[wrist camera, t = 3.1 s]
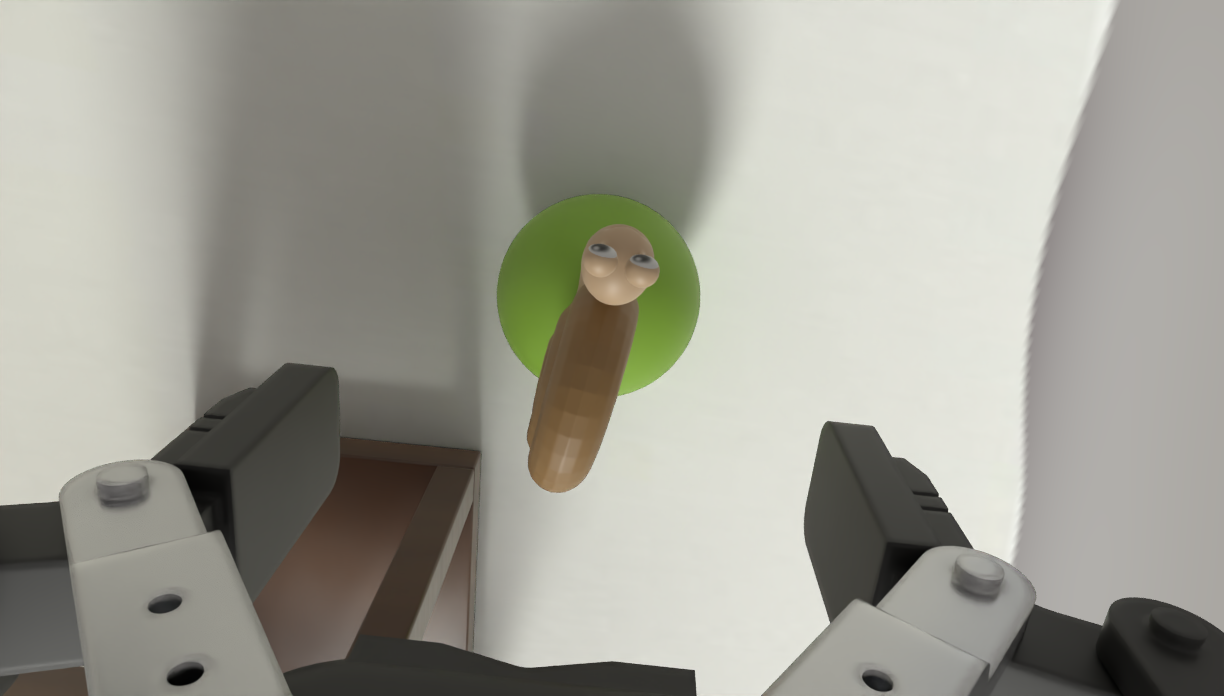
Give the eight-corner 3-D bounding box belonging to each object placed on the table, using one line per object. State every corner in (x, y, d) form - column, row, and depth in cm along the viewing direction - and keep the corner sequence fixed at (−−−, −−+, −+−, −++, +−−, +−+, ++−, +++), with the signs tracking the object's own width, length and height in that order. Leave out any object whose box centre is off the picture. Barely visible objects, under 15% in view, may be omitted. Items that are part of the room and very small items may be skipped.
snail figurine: (727, 171, 24) (799, 297, 13) (666, 372, 26) (681, 630, 15) (542, 122, 24) (447, 206, 12) (497, 330, 26) (382, 559, 15)
